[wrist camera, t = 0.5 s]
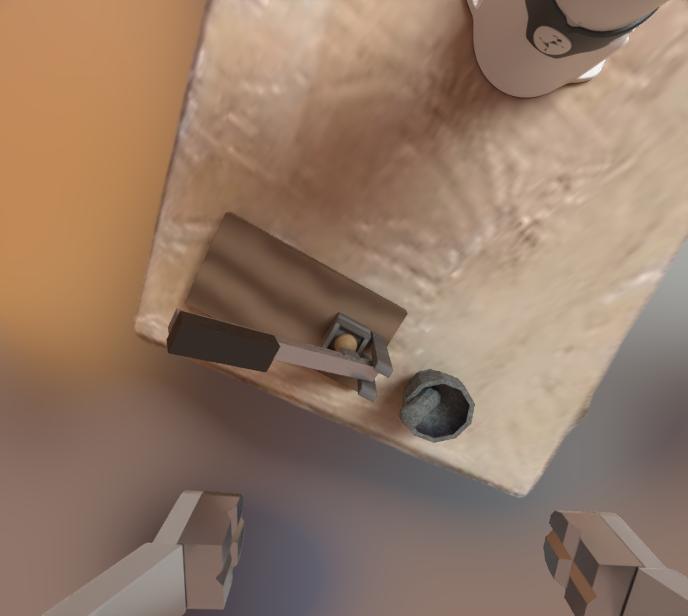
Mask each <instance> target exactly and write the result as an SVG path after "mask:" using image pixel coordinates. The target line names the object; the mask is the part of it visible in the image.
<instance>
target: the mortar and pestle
mask: <svg viewBox="0 0 688 616" xmlns="http://www.w3.org/2000/svg"><path fill="white" fill-rule="evenodd" d="M474 406H475V403H474V402H473V400H472V398H471V397H470V395H469V393H468V391H467V390H466V388H465V386H464V385H463V383H462V382H461V381H460V380H459V379H458V378H455V377H453V376H450V375H448V374H445V373H442V372H440V371H435V370H432V369H429V370H425V371H420V372H418V373H417V374H416V375H415V376H414V377H413V378H412V379H411V380H410V384H409V386H408V387H407V388H406V389H405V390H404V398H403V406H402V409H401V410H400V418H401V420H402V423H403V424H405V425H406V426H408V427H409V428H410V430H411V431H412V433H413V434H414V435H415V436H417V437H420V438H423V439H425V440H428V441H431V442H434V443H435V442H440V441H444V440H449V439H454V438H456V437H457V436H458V435H460V434H461V433H462V432H463V431H464V430H465V429H466V428H467V427H468V426H469V425H470V424H471V422H472V417H473V411H474Z"/></svg>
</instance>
